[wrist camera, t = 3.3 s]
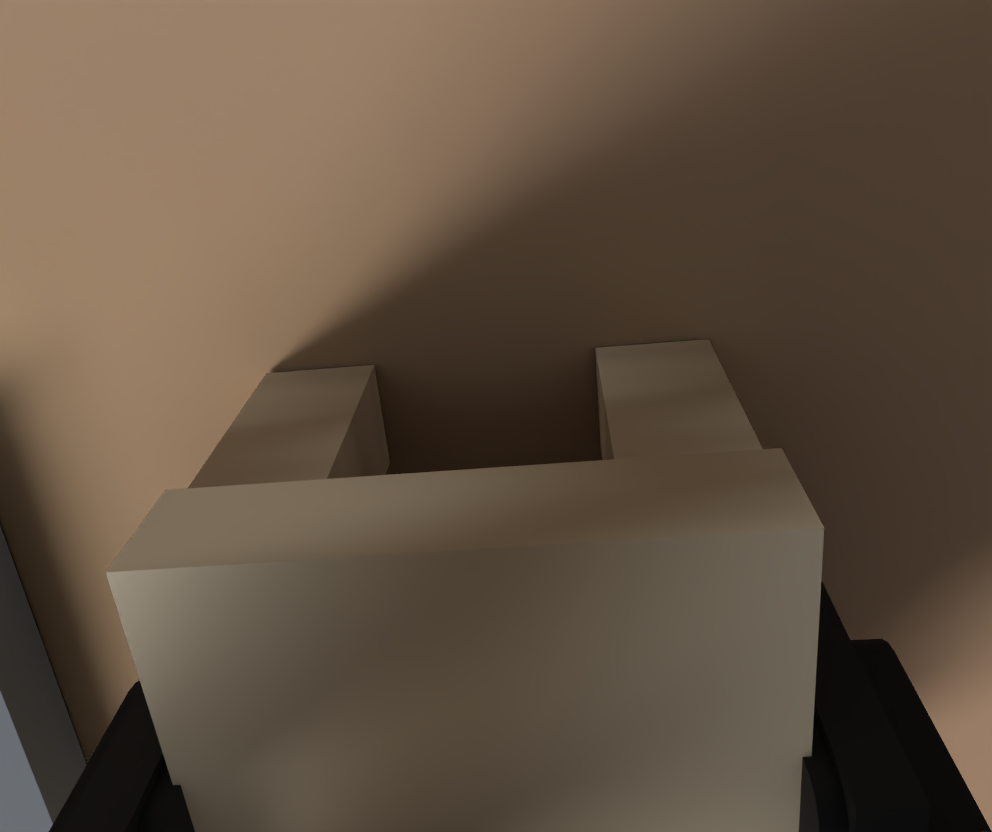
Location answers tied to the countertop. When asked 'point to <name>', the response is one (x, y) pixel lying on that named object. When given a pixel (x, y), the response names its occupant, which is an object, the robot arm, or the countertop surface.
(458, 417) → the countertop surface
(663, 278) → the countertop surface
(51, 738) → the slate mat
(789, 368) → the countertop surface
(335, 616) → the beige tabbed block
